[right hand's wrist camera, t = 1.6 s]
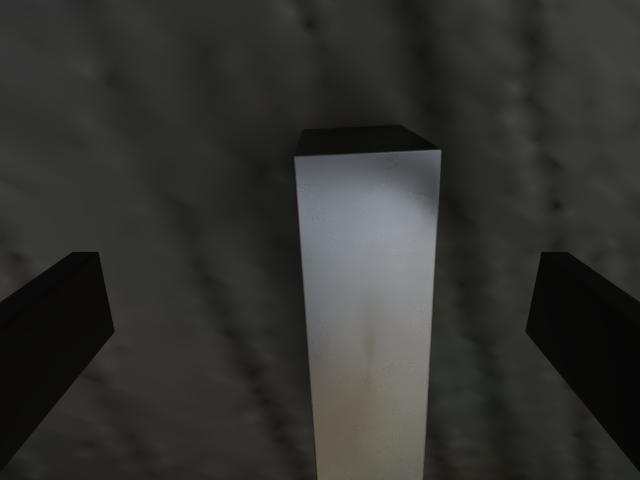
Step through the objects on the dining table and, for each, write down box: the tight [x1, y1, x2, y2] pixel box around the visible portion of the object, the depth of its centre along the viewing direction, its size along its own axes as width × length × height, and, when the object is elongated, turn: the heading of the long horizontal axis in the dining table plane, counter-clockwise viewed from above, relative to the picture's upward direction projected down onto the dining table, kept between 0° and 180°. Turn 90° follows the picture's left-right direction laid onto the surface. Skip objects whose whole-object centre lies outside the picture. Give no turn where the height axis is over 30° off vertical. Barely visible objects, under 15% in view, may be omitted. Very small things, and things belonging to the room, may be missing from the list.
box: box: [294, 125, 442, 480], centre depth 24 cm, size 20×6×9 cm, turn 3°
